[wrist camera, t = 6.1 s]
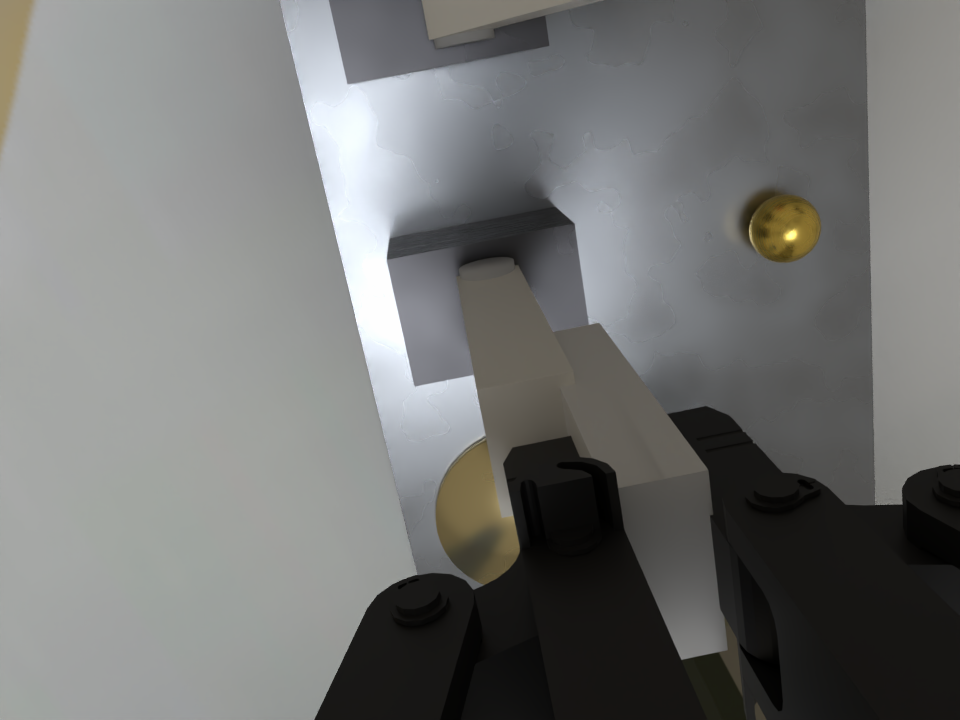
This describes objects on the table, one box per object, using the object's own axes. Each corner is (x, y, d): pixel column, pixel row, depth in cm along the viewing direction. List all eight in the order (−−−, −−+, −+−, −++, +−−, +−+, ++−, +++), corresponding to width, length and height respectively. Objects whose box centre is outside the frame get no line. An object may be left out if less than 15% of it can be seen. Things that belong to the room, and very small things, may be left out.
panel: (248, -167, 22) (205, -232, 18) (822, -273, 23) (930, -365, 18) (424, 574, 30) (427, 666, 26) (846, 489, 31) (925, 565, 26)
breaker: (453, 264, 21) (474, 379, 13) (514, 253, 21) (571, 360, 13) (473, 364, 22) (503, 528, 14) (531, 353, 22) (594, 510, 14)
